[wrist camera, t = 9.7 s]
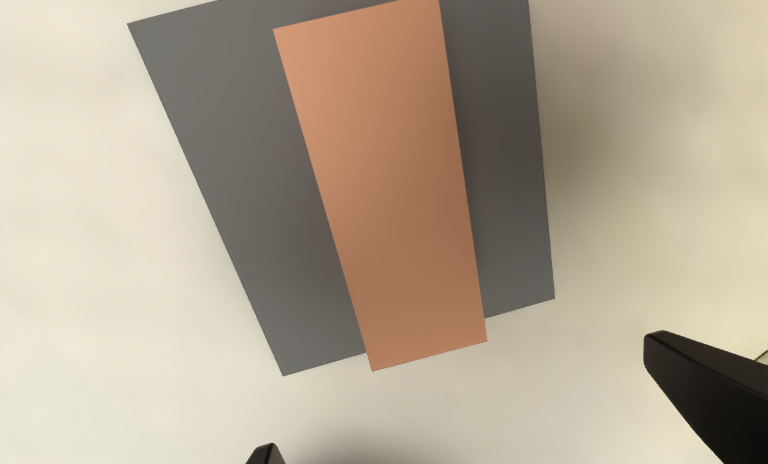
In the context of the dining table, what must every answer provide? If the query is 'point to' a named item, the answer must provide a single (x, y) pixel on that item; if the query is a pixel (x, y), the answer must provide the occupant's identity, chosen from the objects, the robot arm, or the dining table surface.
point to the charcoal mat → (295, 171)
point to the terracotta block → (389, 173)
